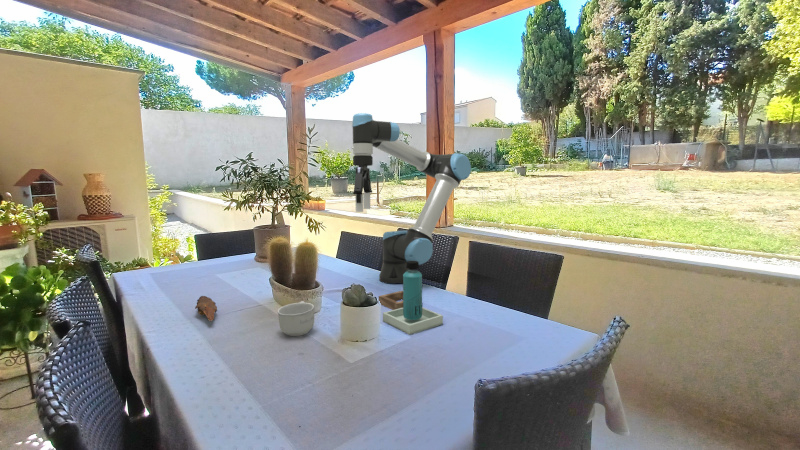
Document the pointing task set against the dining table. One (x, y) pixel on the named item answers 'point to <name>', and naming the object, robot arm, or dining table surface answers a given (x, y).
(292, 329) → the teacup
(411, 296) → the beverage bottle
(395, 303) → the socket block
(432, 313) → the tray
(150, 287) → the dining table surface
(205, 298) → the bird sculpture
